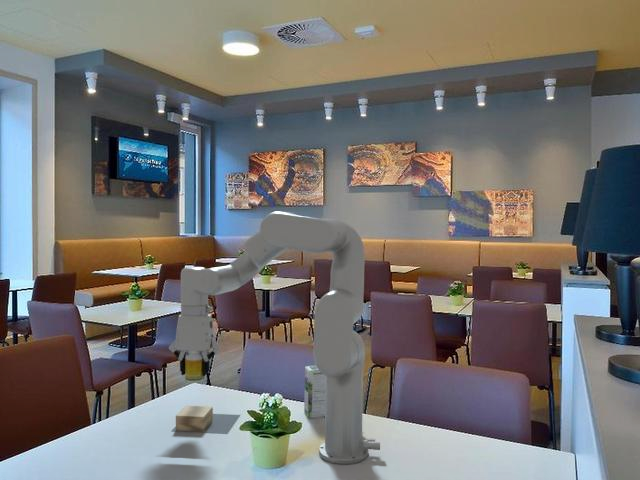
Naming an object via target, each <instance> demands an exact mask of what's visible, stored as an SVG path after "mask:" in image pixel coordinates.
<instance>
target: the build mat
mask: <svg viewBox="0 0 640 480" xmlns="http://www.w3.org/2000/svg"><path fill="white" fill-rule="evenodd" d="M240 417H241V414H231V413H229V414H227V413H225V414H224V413H213V421H212V422H211V423H210V424H209V425H208V427H207V428H206V429H205V430H204V431H187V430H176V426H174V428H173V429H172V430H171V432H172V433H175V432H177V433H179V432H180V433H197V434H219V435H220V434H221V435H228V434H229V432H230V431H231V430H232V428H233V427H234V426H235V424H236V423H237V421H238V419H239V418H240Z"/></svg>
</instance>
